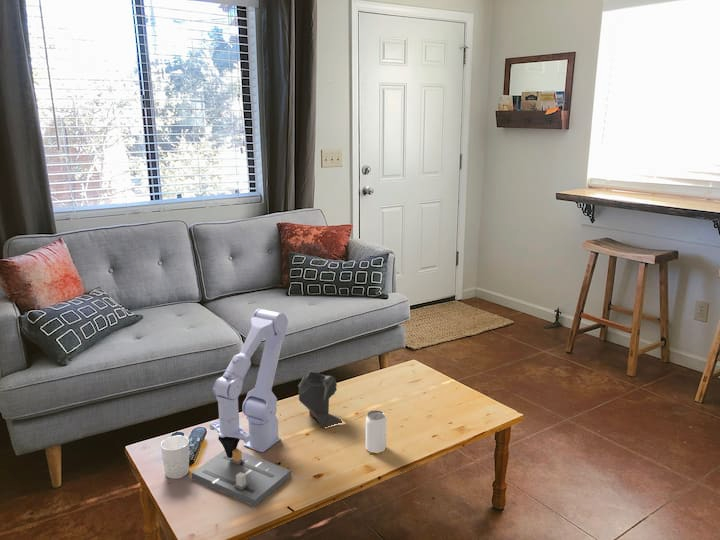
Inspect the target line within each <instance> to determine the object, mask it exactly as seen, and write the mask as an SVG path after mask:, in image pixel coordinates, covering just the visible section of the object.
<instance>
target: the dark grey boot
mask: <svg viewBox="0 0 720 540" xmlns="http://www.w3.org/2000/svg"><path fill="white" fill-rule="evenodd" d="M297 387H298V400H299V402H300V404H303V406H304V407H306V409H308V412H309V413H308V416H309V417H312V418H315V419H316V421H317V422H319V424H320V425H321V426H322V428H323V429H326V428H325V427H328V426H331V425H334V424H338V423H342V421H341V419H342V418H339V417H338V416H335V415H332V414H330V413H329V412H330V411H329V408H330V398H331V397H332V396H334V395H335V393H336V392H337V390H338V389H337V381H336V377H335V376H332V375H324V374H321V373H318V372H316V371H314V370H313V369H309V370H308V371H307V374H306V375H305V376H302V378H301V381H300V382H299V384H298V385H297Z"/></svg>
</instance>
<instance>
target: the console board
mask: <svg viewBox="0 0 720 540" xmlns="http://www.w3.org/2000/svg"><path fill="white" fill-rule="evenodd" d="M242 458H244V461H243V462H241V463H240V464H238V465H237V464H235V463H232V462H230V460H231V459H233V457H232V458H228V457H227V455H226V452H225V449H224V450H223V451H221V452H220V453H218V454H216V455H215V456H214V457H212V458H210V459H209V460H208V461H206V462H205V463H204V464H202V465H200V466H199V467H197V468H196V469H194V470H193V471H192V472H190V474H191V479H192V480H193V481H196V482H198V483H201V484H204V485H206V486H208V487H210V488H212V489H213V490H217V491H219V492H221V493H224V494H227V495H228V496H230V497H233V498H235V499H238V500H240V501H241V502H244V503H246V504H249V505H250V506H253V507H256V506H257V505H259V504H260V503H261V502H262V501H263V500H264V499H266V498H267V497H268V496H269V495H270V494H272V493H273V492H274V491H275V490H277V489H278V488H279V487H280V486H281V485H283V484H284V483H285V482H286V481H287V480H288V479H290V478H291V476H292V473H291V470H290V469H288V468H285V467H284V466H281V465H277V464H275V463H272V462H270V461H268V460H264V459H262V458H259V457H256V456H254V455H252V454H250V453H248V452H247V453H246V452H244V451H242ZM240 472H241V473H244V474H246V482H247V483H249V485H248V486H247V487H245V488H244V489H243V490H241V489H238V488H236V487H234V485H235V484H236V475H237V474H238V473H240Z"/></svg>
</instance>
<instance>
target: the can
mask: <svg viewBox="0 0 720 540" xmlns="http://www.w3.org/2000/svg"><path fill="white" fill-rule="evenodd" d="M386 445H387V417H386V414H385V412H383V411H381V410H370V411H368V413H367V415H366V418H365V449H367V450H368V451H370V452H381V451H383V452H385V450H386V449H385V448H386ZM367 450H366V451H367ZM368 451H367V452H368ZM370 452H369V453H370Z"/></svg>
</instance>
